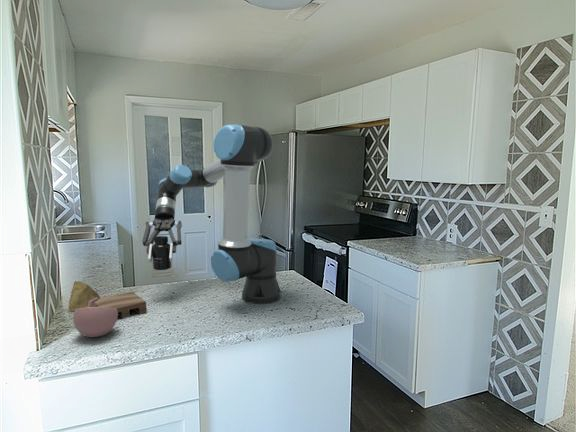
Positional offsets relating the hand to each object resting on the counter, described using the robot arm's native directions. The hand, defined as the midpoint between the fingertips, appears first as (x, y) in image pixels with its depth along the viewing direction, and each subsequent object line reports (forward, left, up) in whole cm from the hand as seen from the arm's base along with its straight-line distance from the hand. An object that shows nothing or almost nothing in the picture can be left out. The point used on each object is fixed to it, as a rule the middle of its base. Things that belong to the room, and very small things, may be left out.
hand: (160, 260), depth 141 cm
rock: (+14, +23, -17) cm, 32 cm away
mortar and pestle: (-14, +26, -17) cm, 34 cm away
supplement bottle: (+3, -2, -4) cm, 6 cm away
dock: (+1, +15, -17) cm, 22 cm away
